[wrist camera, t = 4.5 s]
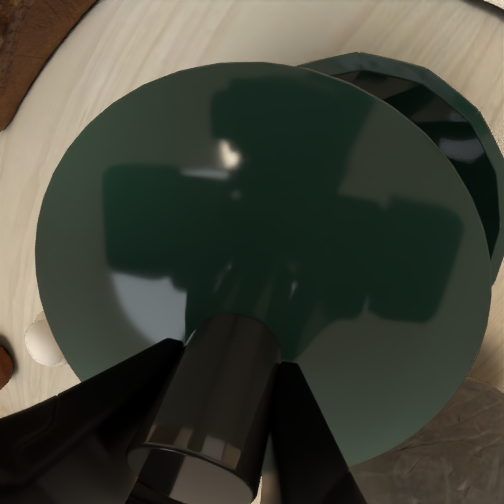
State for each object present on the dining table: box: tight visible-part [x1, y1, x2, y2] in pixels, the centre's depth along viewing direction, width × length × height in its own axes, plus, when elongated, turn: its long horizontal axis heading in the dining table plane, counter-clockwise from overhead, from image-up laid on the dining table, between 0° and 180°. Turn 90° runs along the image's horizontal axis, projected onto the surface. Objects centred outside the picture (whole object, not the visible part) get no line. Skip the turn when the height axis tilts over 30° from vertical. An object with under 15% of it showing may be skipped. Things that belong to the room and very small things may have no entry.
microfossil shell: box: [25, 311, 67, 366], centre depth 24 cm, size 4×5×6 cm
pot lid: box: [35, 62, 491, 504], centre depth 7 cm, size 14×14×5 cm
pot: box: [295, 52, 504, 287], centre depth 14 cm, size 12×12×8 cm
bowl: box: [348, 376, 504, 504], centre depth 17 cm, size 21×21×15 cm
